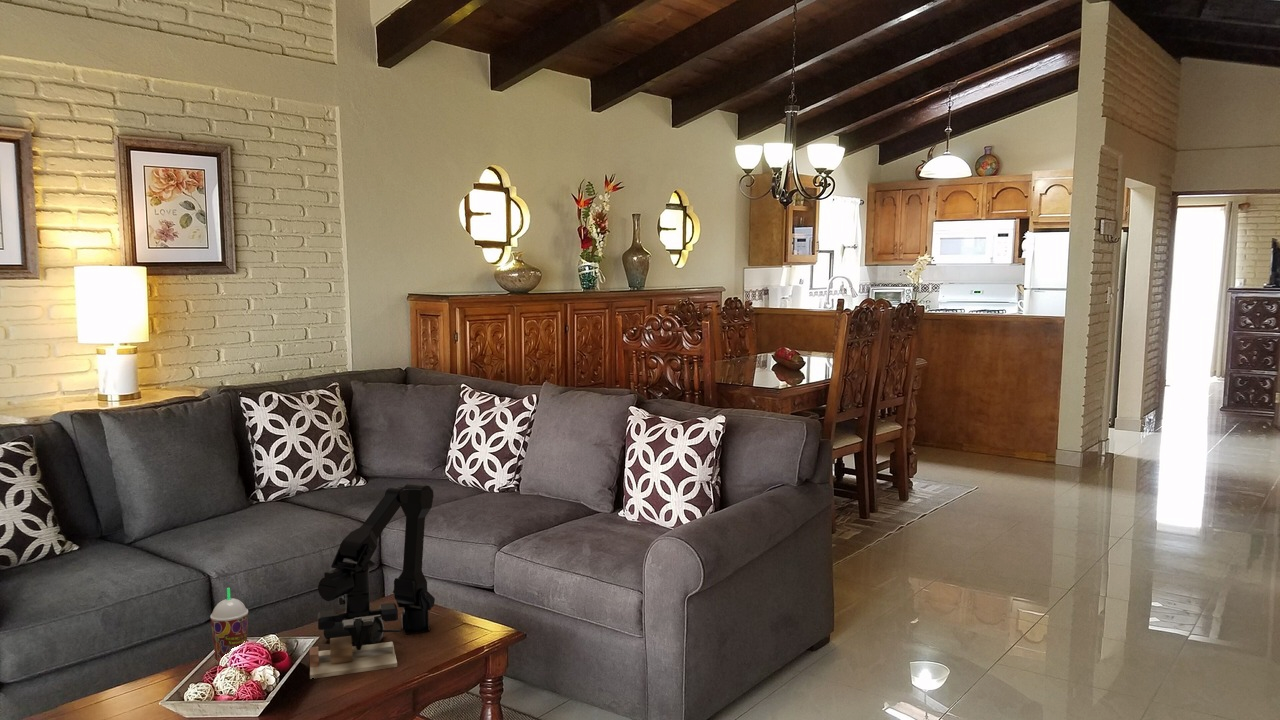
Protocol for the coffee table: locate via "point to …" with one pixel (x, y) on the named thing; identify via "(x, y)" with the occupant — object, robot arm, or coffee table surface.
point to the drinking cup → (371, 637)
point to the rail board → (353, 660)
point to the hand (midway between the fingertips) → (358, 649)
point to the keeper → (341, 649)
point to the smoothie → (228, 625)
